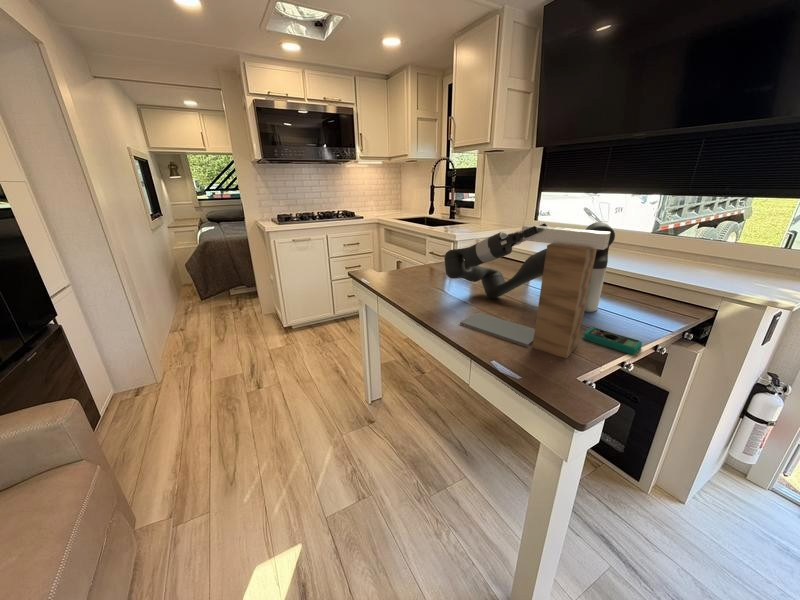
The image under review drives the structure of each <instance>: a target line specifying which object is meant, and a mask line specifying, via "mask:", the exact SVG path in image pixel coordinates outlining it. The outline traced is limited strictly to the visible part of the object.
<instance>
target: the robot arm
mask: <svg viewBox="0 0 800 600" xmlns="http://www.w3.org/2000/svg"><path fill="white" fill-rule="evenodd" d="M537 226H547V227H549V225H548V224H547V223H545V222H544V223H542V224H540V225H536V226H533V227H531V228H529V229H526V230H524V232H523V231H522V230H519V231H514V232H512V233H509V234H507V233H506V232H504V231H500V232H498V233H495V234H493V235H490V236H489V237H486V238H485V239H482V240H481V241H480V242H479V241H478V242H476V243H475V244H473V245H471V246H469V247H468V246H467V247H463V248H455V249H449V250H448V251H447V252H445V254H444V267H445V268H444V269H445V274H446V276H447V277H448V278H449V279H453V280H454V279H464V280H466V281H468V282H471V283H475V282H479V281H480V280H481V284H482V286H483V287H482V288H483V290H484V292H485V294H486V297H487V298H488V299H496V298H499V297H501V296H503V295H505V294H507V293H509V292H511V291H512V290H515V289H516V288H518V287H520V286H522V285H524V284H526V283H528V282H531V281H533V280H535V279H538V278H540V277H543V271H544V264H545V257H546V251H547V247H546V248H544V249H542V250H540V251H537V252H536V253H533V254H532V255H529V256H528V257H527V258H526V260H525V261H524V263H523V264H522V265H521V267H520V268H519V269H518V271H517V272H516V273H515V274H514V275H513V276H512V277H511V278H509V279H508V280H507V281H505V278H504V275H503V273H502V272H501V271H500V270H498V269H495V268H494V269H493V268H489V267H485V266H481V265H483V264H486V263H488V262H493V261H495V260H497V259H498V260H499V259H501V258H503V257H505V256H508V255H510V254H511V253H512V251H513V247H516V246H518V245H521V244H522V243H524V242H527V241H526V240H524V239H525V237H526V238H527V237H530V236H532V235H534V234H537V233H538V232H539V231H538V228H537ZM585 230H593V231H605V232H611V233H610V238H609V242H608V247H607V248H605V249H604V250H601V249H597V251H596V256H595V261H594V266H593V271H592V276H591V281H590V286H589V291H588V296H587V301H586V305H585V310H584V312H587V313H593V312H596V311H598V307H599V304H600V299H601V295H602V291H603V286H604V280H605V276H606V271H607V266H608V263H609V261H608V260H609V257H608V256H609V250H610V249H609V248H610V246H611V245H612V244H613V242H615V238H616V233H615V231H614V229H613V228H612V227H611V226H610V225H609V224H607V223H605V222H603V221H602V222H601V221H600V222H599V221H598V222H593V223H591V224H589V225H588V226H587V227H586V228H585Z"/></svg>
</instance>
